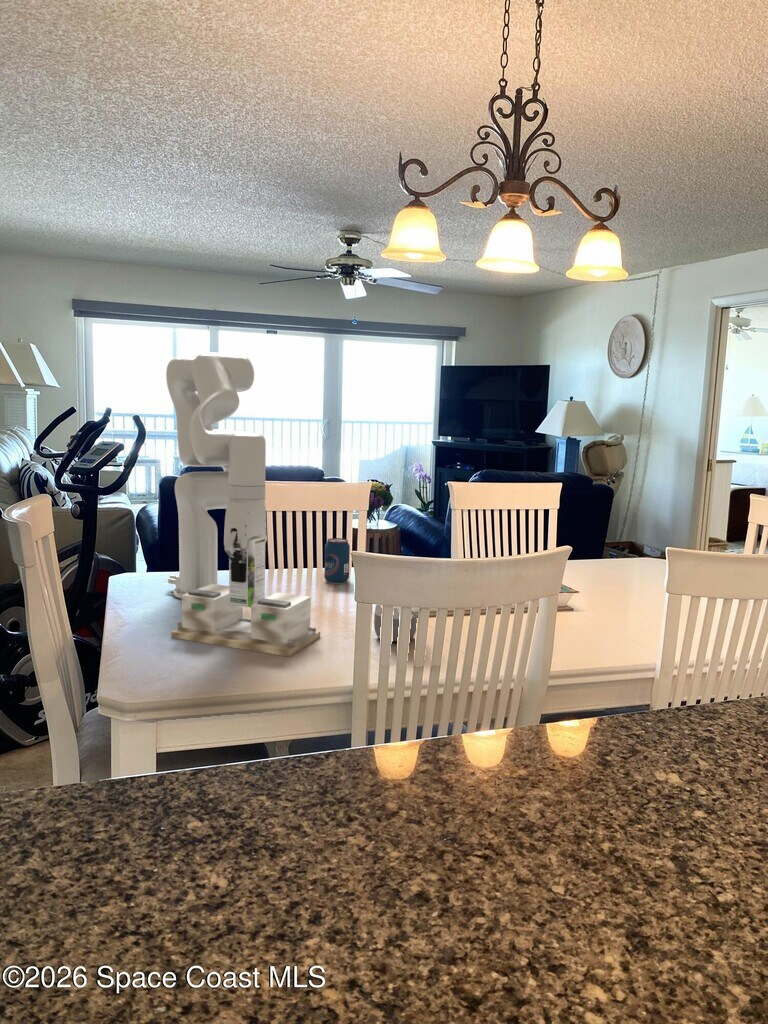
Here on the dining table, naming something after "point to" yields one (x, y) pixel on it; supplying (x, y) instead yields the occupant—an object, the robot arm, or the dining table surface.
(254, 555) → the syrup box
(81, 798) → the dining table surface
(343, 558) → the soda can
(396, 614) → the smart speaker
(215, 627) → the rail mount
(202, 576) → the robot arm
